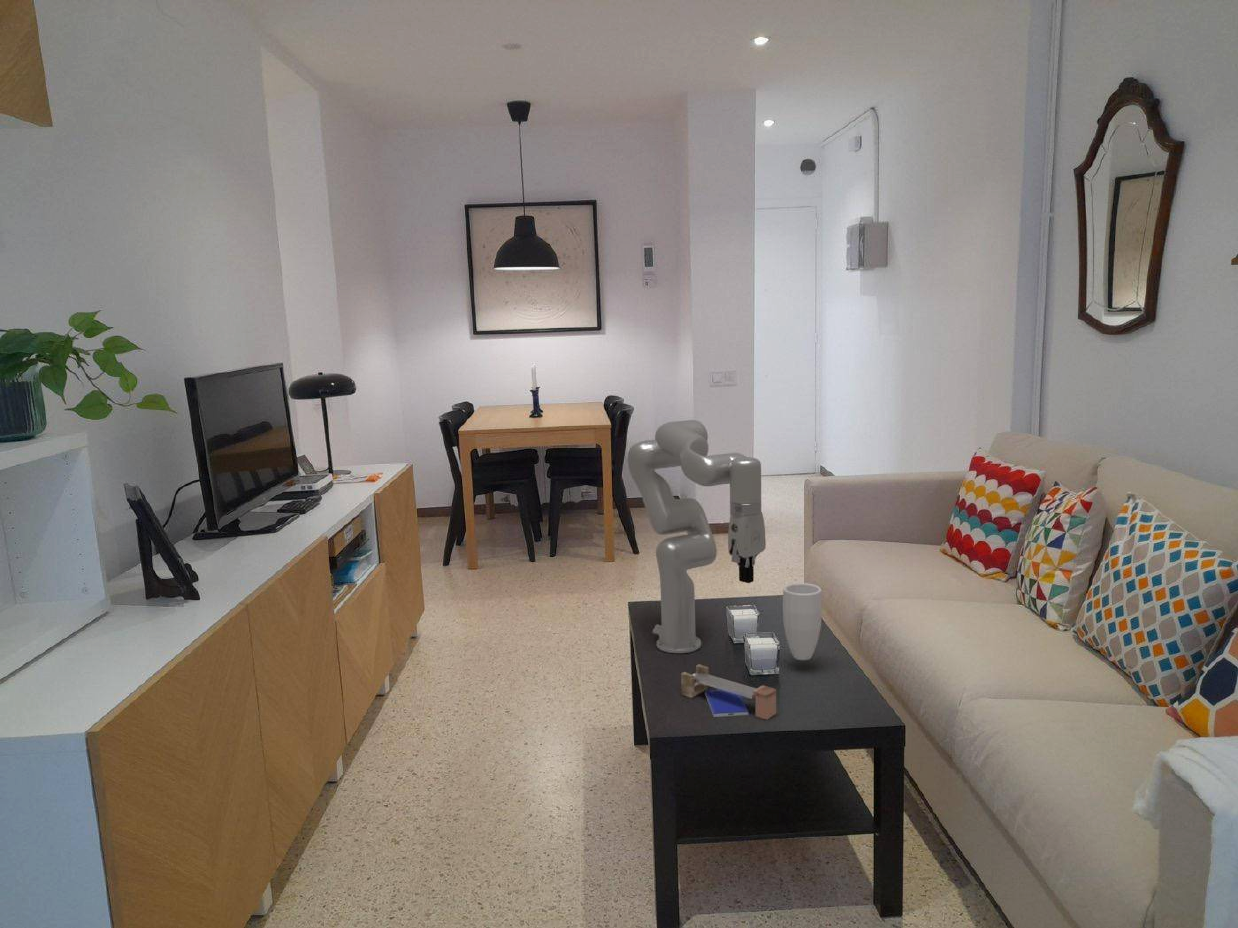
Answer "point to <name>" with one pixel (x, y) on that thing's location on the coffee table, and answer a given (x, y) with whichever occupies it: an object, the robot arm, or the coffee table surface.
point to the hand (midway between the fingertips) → (746, 581)
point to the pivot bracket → (688, 682)
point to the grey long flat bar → (724, 684)
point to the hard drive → (725, 703)
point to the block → (765, 702)
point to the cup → (802, 618)
